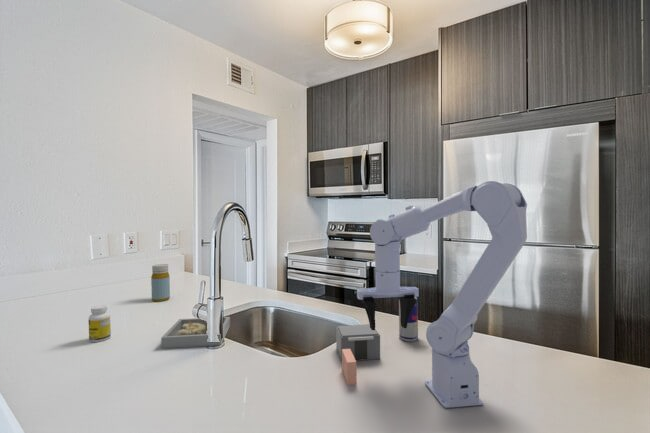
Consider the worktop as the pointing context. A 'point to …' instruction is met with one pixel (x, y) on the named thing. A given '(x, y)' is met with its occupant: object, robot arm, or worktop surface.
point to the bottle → (160, 283)
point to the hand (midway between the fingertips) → (388, 327)
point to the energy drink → (409, 325)
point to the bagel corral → (190, 340)
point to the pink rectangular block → (349, 367)
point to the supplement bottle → (99, 324)
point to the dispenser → (358, 341)
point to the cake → (192, 329)
